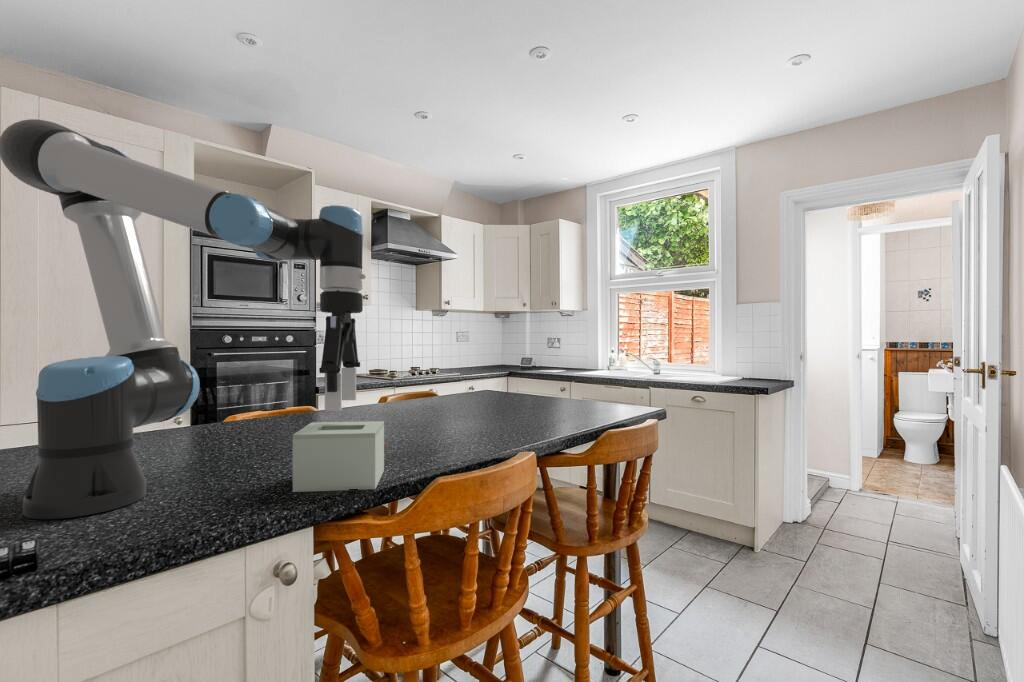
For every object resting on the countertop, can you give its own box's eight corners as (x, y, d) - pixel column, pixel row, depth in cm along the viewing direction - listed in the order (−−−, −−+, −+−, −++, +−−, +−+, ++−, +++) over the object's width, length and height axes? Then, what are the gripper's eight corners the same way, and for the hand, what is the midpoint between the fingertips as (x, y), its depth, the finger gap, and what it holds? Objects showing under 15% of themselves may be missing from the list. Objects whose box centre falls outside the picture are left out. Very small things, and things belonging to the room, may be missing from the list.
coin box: (292, 492, 86) (292, 434, 86) (311, 472, 98) (311, 422, 98) (375, 489, 88) (375, 433, 88) (384, 470, 100) (384, 421, 99)
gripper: (349, 285, 80) (349, 415, 81) (372, 296, 105) (372, 396, 105) (300, 284, 79) (301, 416, 80) (335, 296, 104) (336, 396, 104)
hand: (341, 405), depth 93 cm, fingers open, 13 cm apart
